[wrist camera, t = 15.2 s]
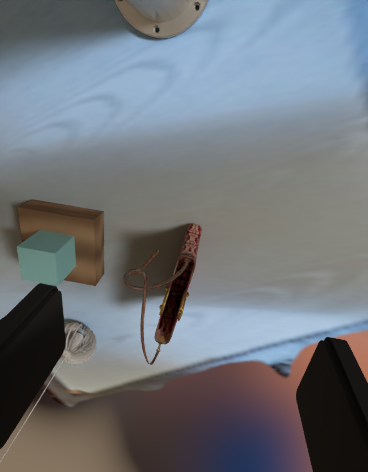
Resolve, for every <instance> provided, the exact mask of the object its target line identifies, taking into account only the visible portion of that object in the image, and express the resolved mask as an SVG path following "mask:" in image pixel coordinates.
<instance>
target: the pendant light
mask: <svg viewBox="0 0 368 472" xmlns="http://www.w3.org/2000/svg"><path fill="white" fill-rule="evenodd" d="M80 326H81V328H80ZM64 327H65V334H66V333H68V334H67V335H65V337H66V336H67V339H66V347H65V350H64V352H63V354H62V356H61V357H60V359H61V358H63V357H64V358H63V360H62V362H63V361H64V359H65V358H66V360H65V363H67V362H68V363H69V364H74V365H75V364H81V363H83V362H86V361H87V360H88V359H89V358H91V356H92V355H93V353H94V351H95V349H96V338H95V335H94V334H93V331H91V330H90V328H87V329H85V330H84V328H85V327H86V326H85V327H84V328H83V329H82V324H80V325H79V323H78V322H77V323H74V322H71V323H66V324H64ZM78 329H79V330H82V332H84V333H85V337H83V335H82V334H80V333H77V332H76V331H77V330H78ZM75 330H76V331H75ZM86 330H87V331H86ZM66 331H67V332H66ZM85 331H86V332H85ZM69 335H72V336H70V337H69ZM69 338H71V339H70V341H69V342H68V339H69ZM67 342H68V343H67ZM82 342H83V346H82V347H81V343H82ZM84 342H85V344H84ZM88 344H89V346H88ZM79 345H80V347H79V349H77V348H78V346H79ZM85 346H86V349H84V348H85ZM91 346H92V347H91ZM82 348H83V350H82V351H80V350H81V349H82ZM76 349H77V350H76ZM88 349H89V350H88ZM77 351H78V352H77ZM85 351H86V352H85ZM84 352H85V353H84ZM80 353H82V354H80ZM61 364H62V363H61ZM60 366H61V365H60ZM60 366H59V367H60ZM58 369H59V368H58ZM58 369H57V370H58ZM56 372H57V371H56ZM55 374H56V373H55ZM55 374H54V375H55ZM53 377H54V376H53ZM53 377H52V378H53ZM51 380H52V379H51ZM50 382H51V381H50ZM50 382H49V383H50ZM48 385H49V384H48ZM48 385H47V386H48ZM46 388H47V387H46ZM45 390H46V389H45ZM45 390H44V391H45ZM43 393H44V392H43ZM41 396H42V395H41ZM38 401H39V400H38ZM36 404H37V403H36ZM35 406H36V405H35ZM35 406H34V407H35ZM31 412H32V411H31ZM30 414H31V413H30ZM28 417H29V416H28ZM27 419H28V418H27ZM24 423H25V422H24ZM23 425H24V424H23ZM20 430H21V429H20ZM19 432H20V431H19ZM19 432H18V433H19ZM17 435H18V434H17ZM14 440H15V439H14ZM11 444H12V443H11ZM5 454H6V453H5ZM3 457H4V456H3ZM2 459H3V458H2ZM2 459H1V461H2ZM1 461H0V462H1Z"/></svg>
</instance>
